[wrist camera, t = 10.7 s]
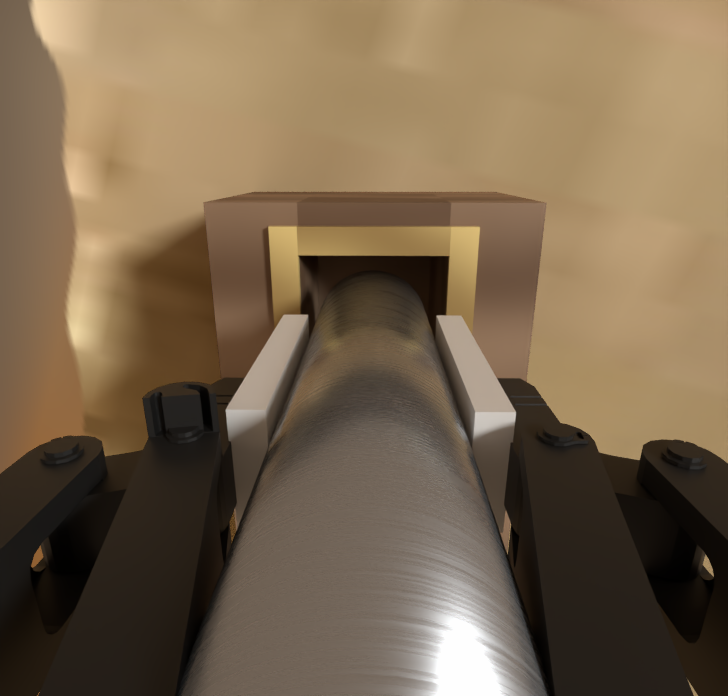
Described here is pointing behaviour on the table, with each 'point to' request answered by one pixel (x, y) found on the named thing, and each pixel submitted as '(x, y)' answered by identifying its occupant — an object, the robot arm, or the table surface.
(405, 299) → the peg
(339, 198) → the hole block
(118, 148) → the table surface
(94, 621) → the robot arm
